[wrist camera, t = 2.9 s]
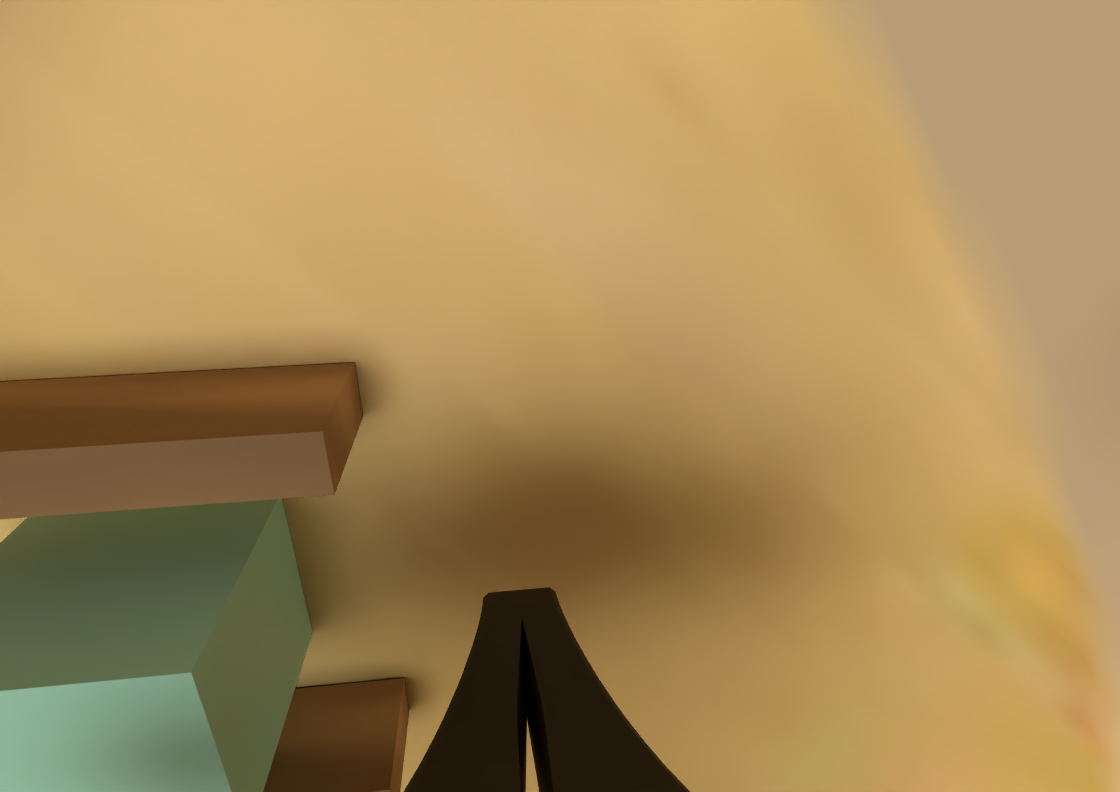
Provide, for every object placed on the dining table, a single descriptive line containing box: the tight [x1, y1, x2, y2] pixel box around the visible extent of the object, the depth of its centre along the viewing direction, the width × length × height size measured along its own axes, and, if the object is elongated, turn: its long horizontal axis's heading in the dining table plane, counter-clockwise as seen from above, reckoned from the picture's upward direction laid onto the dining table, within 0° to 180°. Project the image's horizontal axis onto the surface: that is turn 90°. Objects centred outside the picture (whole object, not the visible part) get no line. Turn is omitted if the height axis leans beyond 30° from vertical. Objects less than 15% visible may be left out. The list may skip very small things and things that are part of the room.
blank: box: [0, 499, 312, 792], centre depth 13 cm, size 4×5×5 cm
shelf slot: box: [0, 363, 409, 792], centre depth 14 cm, size 10×9×3 cm
